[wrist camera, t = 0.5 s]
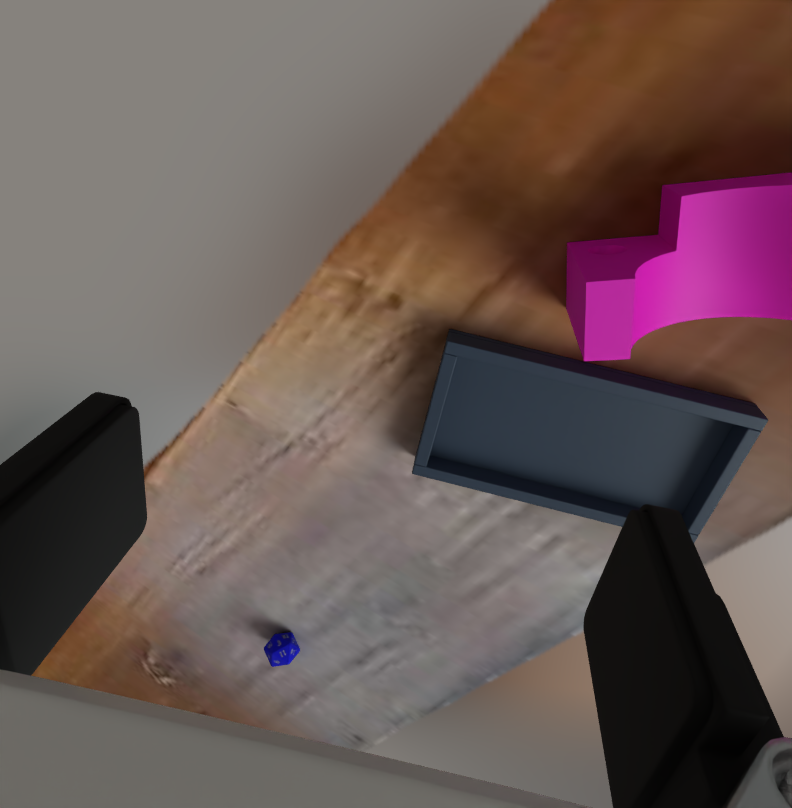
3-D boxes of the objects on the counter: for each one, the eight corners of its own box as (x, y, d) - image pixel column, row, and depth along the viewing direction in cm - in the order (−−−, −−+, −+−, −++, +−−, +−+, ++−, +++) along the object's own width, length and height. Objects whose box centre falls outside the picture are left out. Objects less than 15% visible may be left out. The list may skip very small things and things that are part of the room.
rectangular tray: (449, 328, 36) (447, 340, 34) (755, 403, 35) (769, 420, 33) (415, 457, 40) (411, 474, 39) (684, 524, 40) (693, 545, 38)
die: (280, 619, 50) (292, 647, 48) (296, 630, 52) (309, 657, 50) (254, 640, 50) (266, 669, 48) (271, 651, 52) (283, 679, 49)
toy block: (891, 162, 28) (1010, 185, 22) (860, 289, 31) (957, 342, 25) (567, 194, 31) (588, 223, 25) (566, 308, 34) (584, 361, 27)
